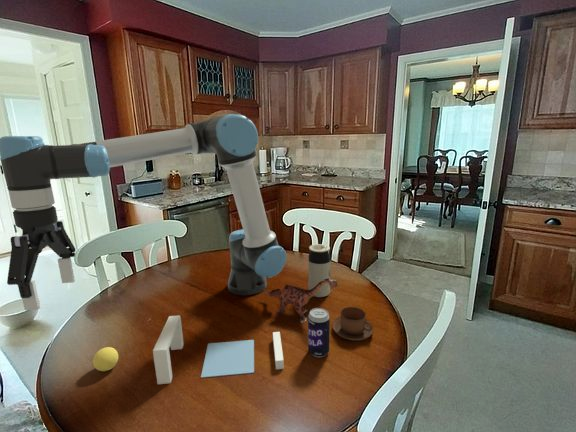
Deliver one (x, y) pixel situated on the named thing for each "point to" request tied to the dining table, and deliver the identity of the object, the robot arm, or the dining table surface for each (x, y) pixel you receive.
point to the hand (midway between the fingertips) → (52, 294)
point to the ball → (105, 359)
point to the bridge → (167, 348)
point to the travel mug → (319, 268)
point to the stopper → (278, 351)
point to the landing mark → (229, 358)
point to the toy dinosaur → (298, 296)
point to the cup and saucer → (353, 324)
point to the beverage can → (318, 332)
